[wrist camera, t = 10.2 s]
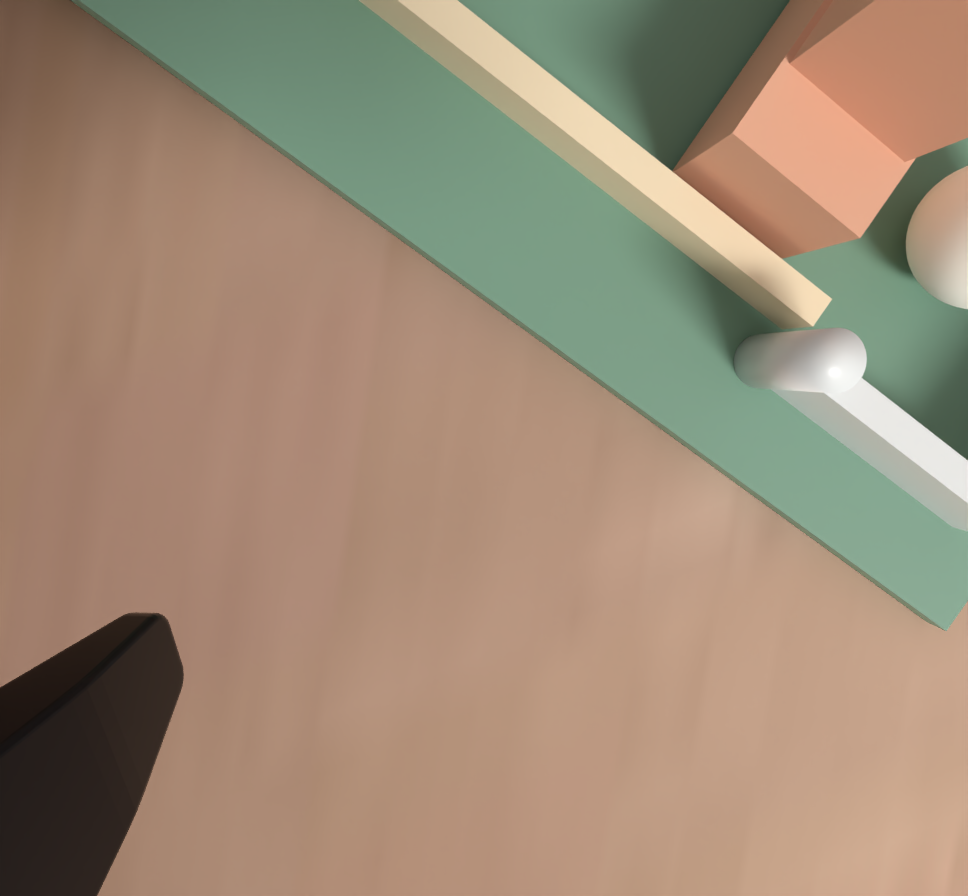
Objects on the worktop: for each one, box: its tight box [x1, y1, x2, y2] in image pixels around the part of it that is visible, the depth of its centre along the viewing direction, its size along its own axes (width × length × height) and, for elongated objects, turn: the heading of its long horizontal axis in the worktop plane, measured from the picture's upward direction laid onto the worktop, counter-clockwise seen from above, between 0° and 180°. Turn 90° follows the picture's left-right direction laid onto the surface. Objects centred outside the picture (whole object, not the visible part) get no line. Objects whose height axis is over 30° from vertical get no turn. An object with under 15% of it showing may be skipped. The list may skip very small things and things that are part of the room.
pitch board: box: [71, 0, 968, 631], centre depth 19 cm, size 16×30×2 cm, turn 55°
